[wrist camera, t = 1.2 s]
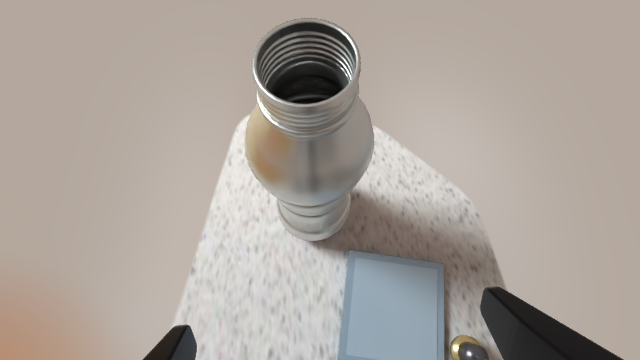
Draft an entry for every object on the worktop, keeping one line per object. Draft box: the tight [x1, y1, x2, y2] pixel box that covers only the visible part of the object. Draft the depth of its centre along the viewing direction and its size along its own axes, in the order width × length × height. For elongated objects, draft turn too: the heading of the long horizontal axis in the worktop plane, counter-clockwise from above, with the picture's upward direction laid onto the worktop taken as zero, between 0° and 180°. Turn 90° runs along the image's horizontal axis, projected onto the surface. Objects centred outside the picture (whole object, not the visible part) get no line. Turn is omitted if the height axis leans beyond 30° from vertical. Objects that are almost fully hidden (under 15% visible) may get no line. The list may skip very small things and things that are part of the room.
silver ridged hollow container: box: [245, 18, 374, 241], centre depth 19 cm, size 6×7×20 cm
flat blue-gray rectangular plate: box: [337, 250, 444, 360], centre depth 25 cm, size 9×8×1 cm
